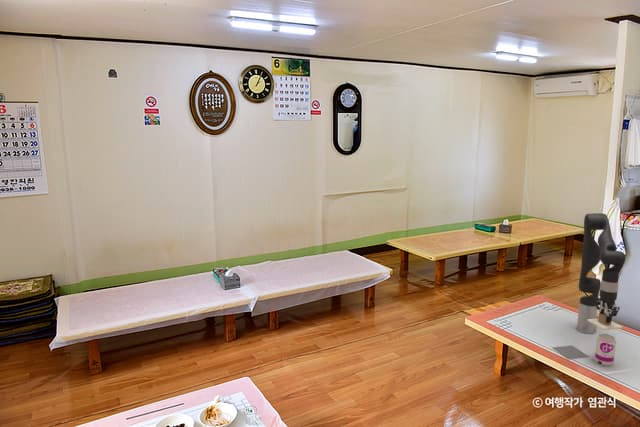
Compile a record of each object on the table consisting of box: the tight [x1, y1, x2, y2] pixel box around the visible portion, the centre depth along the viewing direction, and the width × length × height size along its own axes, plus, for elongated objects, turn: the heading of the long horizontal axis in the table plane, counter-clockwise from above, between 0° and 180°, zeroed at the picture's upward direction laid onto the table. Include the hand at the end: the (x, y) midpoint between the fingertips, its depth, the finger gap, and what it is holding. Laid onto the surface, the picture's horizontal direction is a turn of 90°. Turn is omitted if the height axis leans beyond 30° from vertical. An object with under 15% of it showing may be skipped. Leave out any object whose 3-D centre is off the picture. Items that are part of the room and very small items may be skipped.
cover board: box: [587, 312, 623, 331], centre depth 228 cm, size 11×11×5 cm
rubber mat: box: [551, 345, 590, 360], centre depth 242 cm, size 13×13×1 cm
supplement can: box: [594, 333, 617, 367], centre depth 231 cm, size 8×8×15 cm
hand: (605, 320), depth 229 cm, fingers closed on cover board, 4 cm apart
